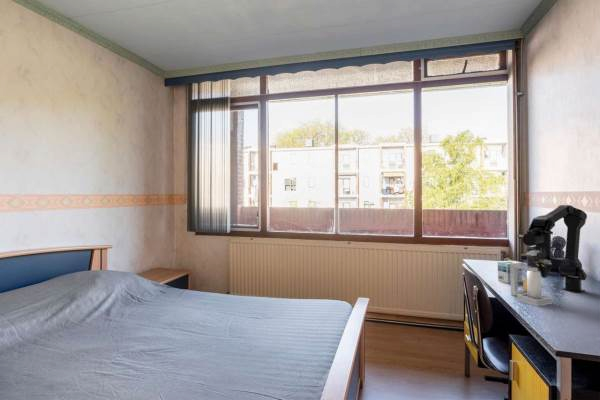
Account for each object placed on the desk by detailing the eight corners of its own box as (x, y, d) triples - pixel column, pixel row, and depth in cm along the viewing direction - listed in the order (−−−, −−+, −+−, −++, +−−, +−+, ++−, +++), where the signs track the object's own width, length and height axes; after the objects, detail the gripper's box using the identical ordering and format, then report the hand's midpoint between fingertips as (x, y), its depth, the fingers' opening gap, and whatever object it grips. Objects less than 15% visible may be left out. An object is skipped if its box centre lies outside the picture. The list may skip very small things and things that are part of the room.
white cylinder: (532, 297, 147) (531, 269, 147) (547, 301, 141) (546, 272, 141) (521, 299, 145) (520, 270, 145) (536, 303, 139) (535, 273, 139)
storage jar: (523, 271, 198) (522, 247, 198) (534, 269, 201) (534, 246, 201) (539, 275, 189) (538, 249, 189) (551, 273, 192) (550, 248, 191)
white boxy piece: (528, 291, 157) (527, 260, 157) (555, 298, 145) (555, 266, 145) (509, 294, 154) (508, 263, 154) (535, 302, 142) (534, 268, 142)
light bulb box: (508, 283, 172) (507, 263, 172) (497, 280, 179) (496, 261, 179) (523, 281, 175) (522, 262, 175) (512, 278, 182) (511, 260, 182)
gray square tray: (531, 297, 149) (531, 292, 149) (552, 303, 140) (552, 298, 140) (516, 299, 146) (516, 294, 146) (536, 306, 137) (536, 300, 137)
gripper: (511, 242, 155) (512, 274, 156) (551, 248, 138) (552, 284, 138) (528, 241, 159) (529, 272, 159) (569, 246, 141) (570, 281, 141)
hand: (544, 277), depth 149 cm, fingers closed
